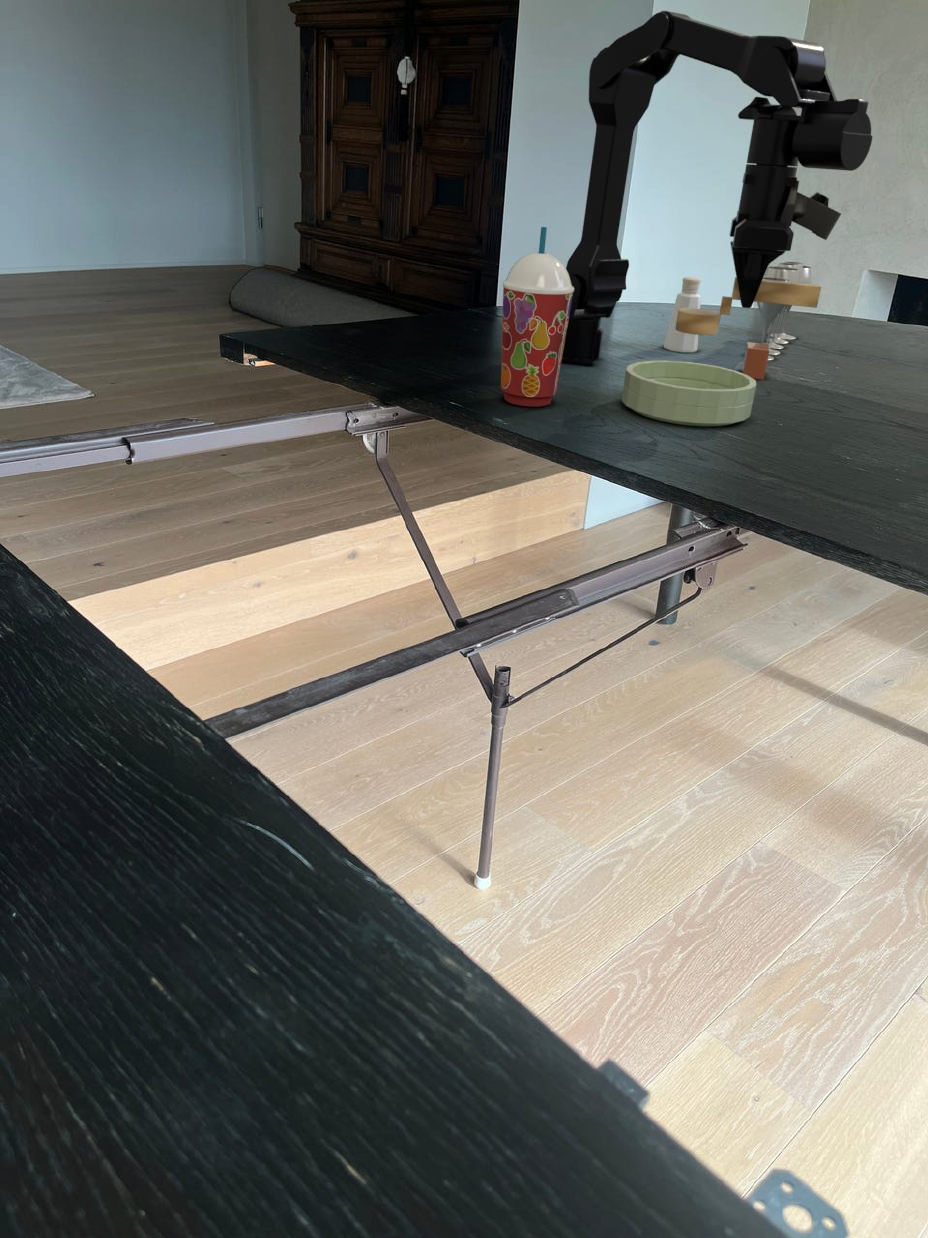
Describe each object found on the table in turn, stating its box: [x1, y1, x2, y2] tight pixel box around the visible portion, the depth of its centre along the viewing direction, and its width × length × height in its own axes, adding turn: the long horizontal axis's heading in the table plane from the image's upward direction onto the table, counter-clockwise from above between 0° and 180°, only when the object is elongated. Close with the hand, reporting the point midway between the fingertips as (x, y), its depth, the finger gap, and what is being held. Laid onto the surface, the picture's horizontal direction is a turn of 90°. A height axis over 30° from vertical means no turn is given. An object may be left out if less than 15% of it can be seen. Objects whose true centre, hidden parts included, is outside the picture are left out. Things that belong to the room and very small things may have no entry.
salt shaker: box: [663, 276, 702, 353], centre depth 152 cm, size 5×5×11 cm
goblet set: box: [756, 261, 813, 361], centre depth 160 cm, size 28×6×13 cm, turn 155°
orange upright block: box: [741, 341, 770, 381], centre depth 140 cm, size 3×5×4 cm, turn 167°
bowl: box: [621, 360, 757, 427], centre depth 118 cm, size 16×16×4 cm
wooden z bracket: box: [675, 276, 822, 336], centre depth 117 cm, size 16×5×7 cm, turn 77°
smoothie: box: [500, 226, 574, 408], centre depth 113 cm, size 8×8×20 cm
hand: (746, 306), depth 117 cm, fingers closed on wooden z bracket
